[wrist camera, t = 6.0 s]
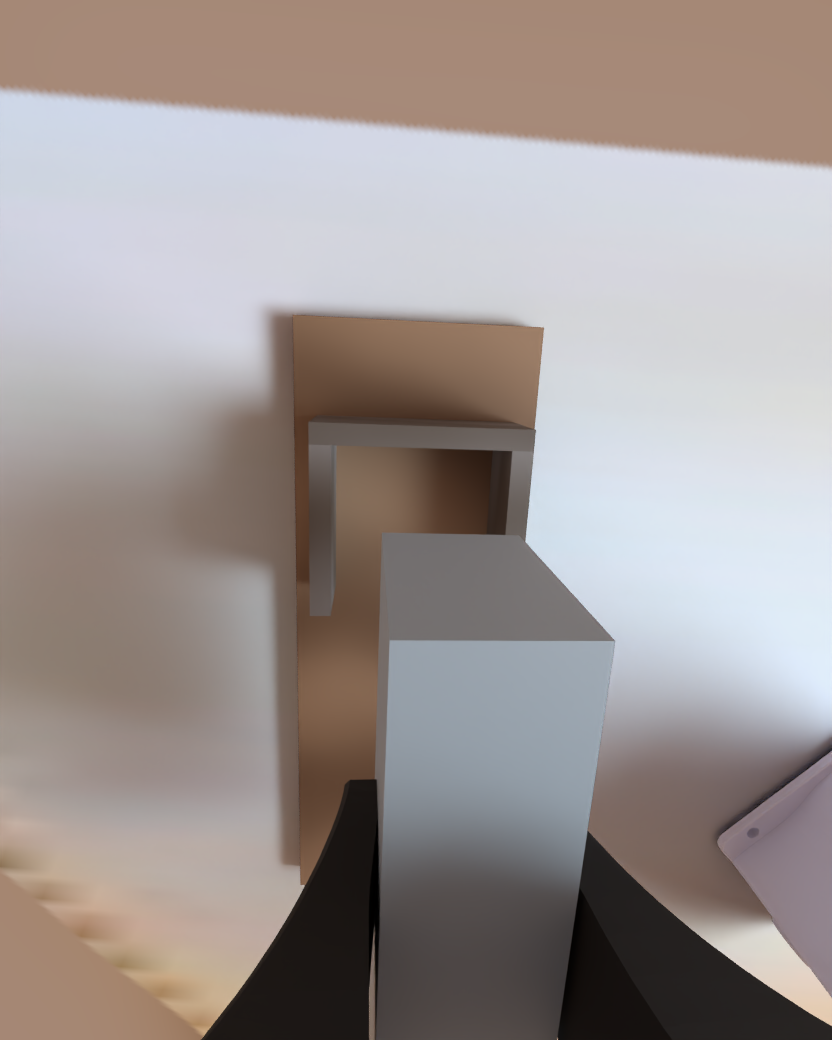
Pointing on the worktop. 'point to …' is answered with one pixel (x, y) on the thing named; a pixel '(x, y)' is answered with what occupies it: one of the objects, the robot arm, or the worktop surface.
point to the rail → (479, 786)
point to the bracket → (389, 503)
